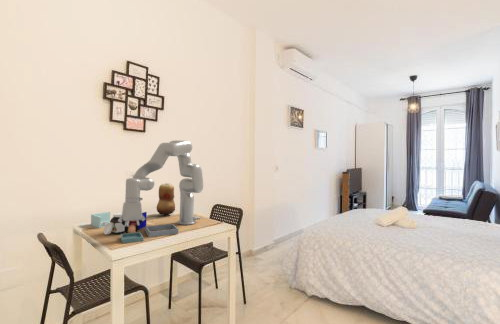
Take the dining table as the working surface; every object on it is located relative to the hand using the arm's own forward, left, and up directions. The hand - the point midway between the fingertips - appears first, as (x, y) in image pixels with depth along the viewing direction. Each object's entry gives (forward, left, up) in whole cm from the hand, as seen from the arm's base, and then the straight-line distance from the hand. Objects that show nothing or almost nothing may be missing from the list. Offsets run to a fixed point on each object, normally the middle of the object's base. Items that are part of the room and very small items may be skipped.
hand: (131, 232), depth 156 cm
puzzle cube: (-5, -24, -4) cm, 25 cm away
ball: (0, 0, -1) cm, 1 cm away
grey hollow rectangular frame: (-18, -7, -4) cm, 20 cm away
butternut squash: (-31, -52, -4) cm, 61 cm away
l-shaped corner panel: (+12, -39, -5) cm, 41 cm away
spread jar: (+7, -16, -4) cm, 18 cm away
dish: (0, 0, -4) cm, 4 cm away
